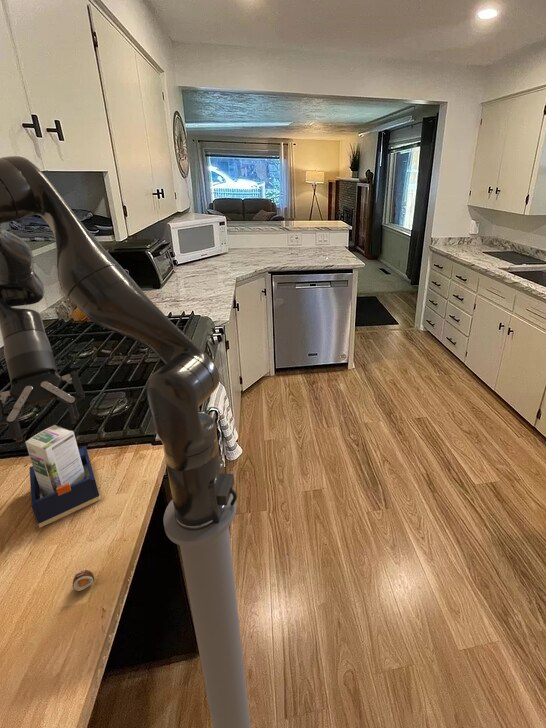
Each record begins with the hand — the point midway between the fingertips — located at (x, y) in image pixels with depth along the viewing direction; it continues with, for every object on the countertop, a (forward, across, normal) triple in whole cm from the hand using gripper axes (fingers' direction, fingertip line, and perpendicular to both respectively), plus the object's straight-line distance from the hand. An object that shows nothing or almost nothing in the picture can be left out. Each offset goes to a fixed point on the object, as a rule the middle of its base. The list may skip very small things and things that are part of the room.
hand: (48, 431), depth 70 cm
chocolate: (+28, 0, -6) cm, 28 cm away
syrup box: (+12, 0, +9) cm, 15 cm away
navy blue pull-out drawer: (+12, 0, +10) cm, 15 cm away
